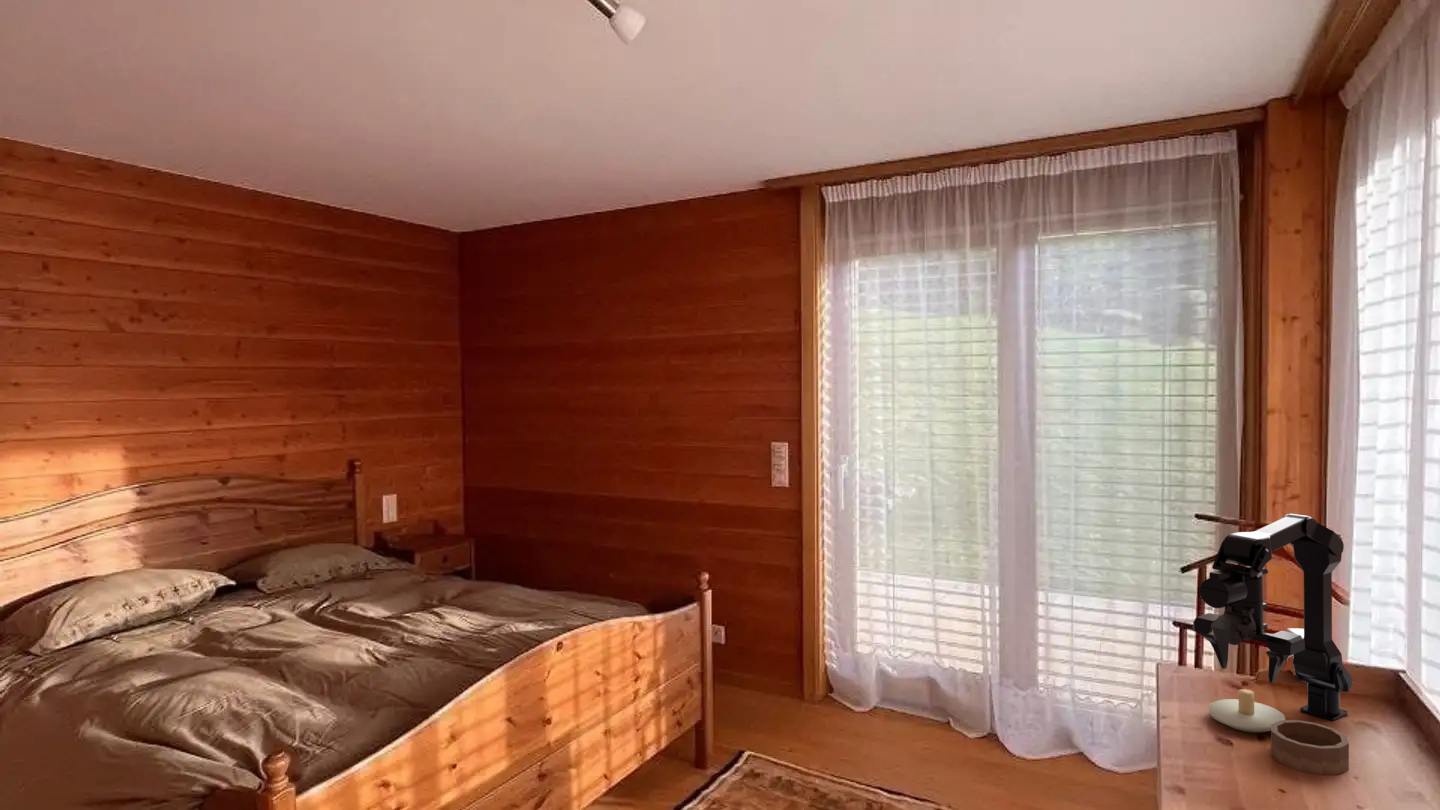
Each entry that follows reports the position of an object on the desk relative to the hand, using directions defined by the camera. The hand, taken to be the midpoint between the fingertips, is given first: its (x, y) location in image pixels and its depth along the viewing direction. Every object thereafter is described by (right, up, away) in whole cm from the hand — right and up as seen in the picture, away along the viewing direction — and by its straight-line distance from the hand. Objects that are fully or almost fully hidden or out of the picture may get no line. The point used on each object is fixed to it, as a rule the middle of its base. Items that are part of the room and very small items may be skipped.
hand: (1247, 675), depth 168 cm
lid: (+6, -13, +10) cm, 17 cm away
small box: (+34, -11, +32) cm, 48 cm away
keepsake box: (+8, -14, -6) cm, 17 cm away
